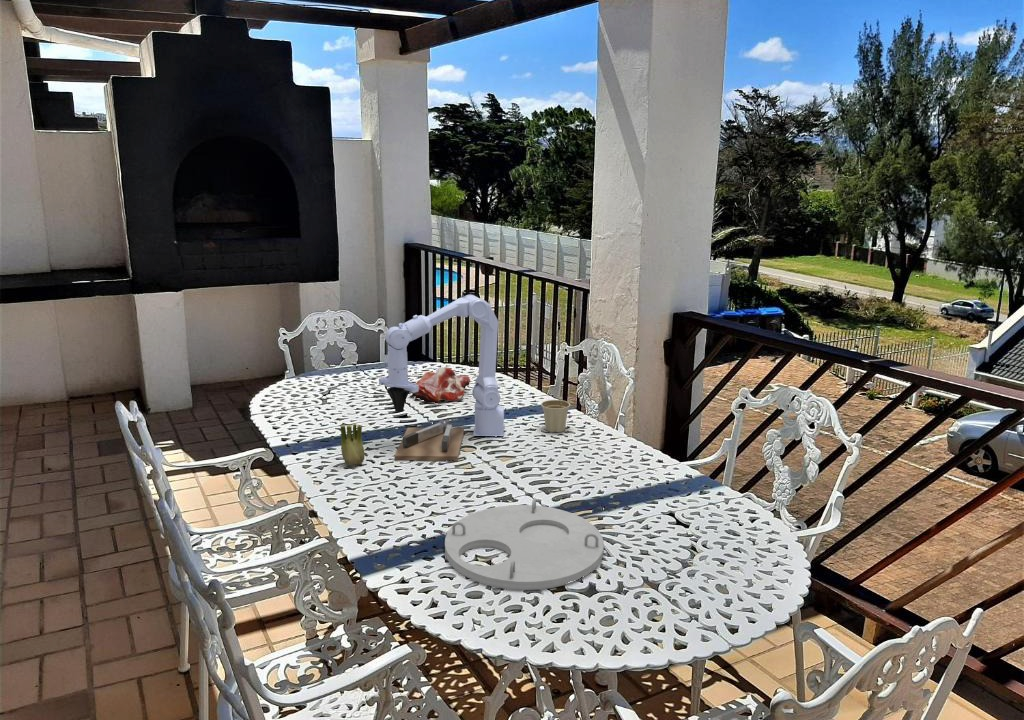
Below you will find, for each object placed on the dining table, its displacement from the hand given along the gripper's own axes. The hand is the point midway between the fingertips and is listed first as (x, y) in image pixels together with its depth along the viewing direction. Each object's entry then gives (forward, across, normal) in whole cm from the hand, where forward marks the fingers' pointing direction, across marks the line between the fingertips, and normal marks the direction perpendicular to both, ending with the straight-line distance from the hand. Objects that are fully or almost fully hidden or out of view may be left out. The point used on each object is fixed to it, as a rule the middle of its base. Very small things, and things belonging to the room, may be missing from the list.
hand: (399, 411), depth 219 cm
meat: (+11, -23, +45) cm, 52 cm away
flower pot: (+11, +31, +39) cm, 51 cm away
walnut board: (+10, +9, +4) cm, 14 cm away
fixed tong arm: (+9, +14, +6) cm, 17 cm away
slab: (+11, +67, -30) cm, 74 cm away
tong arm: (+9, +6, +5) cm, 12 cm away
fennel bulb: (+11, +1, -20) cm, 22 cm away
